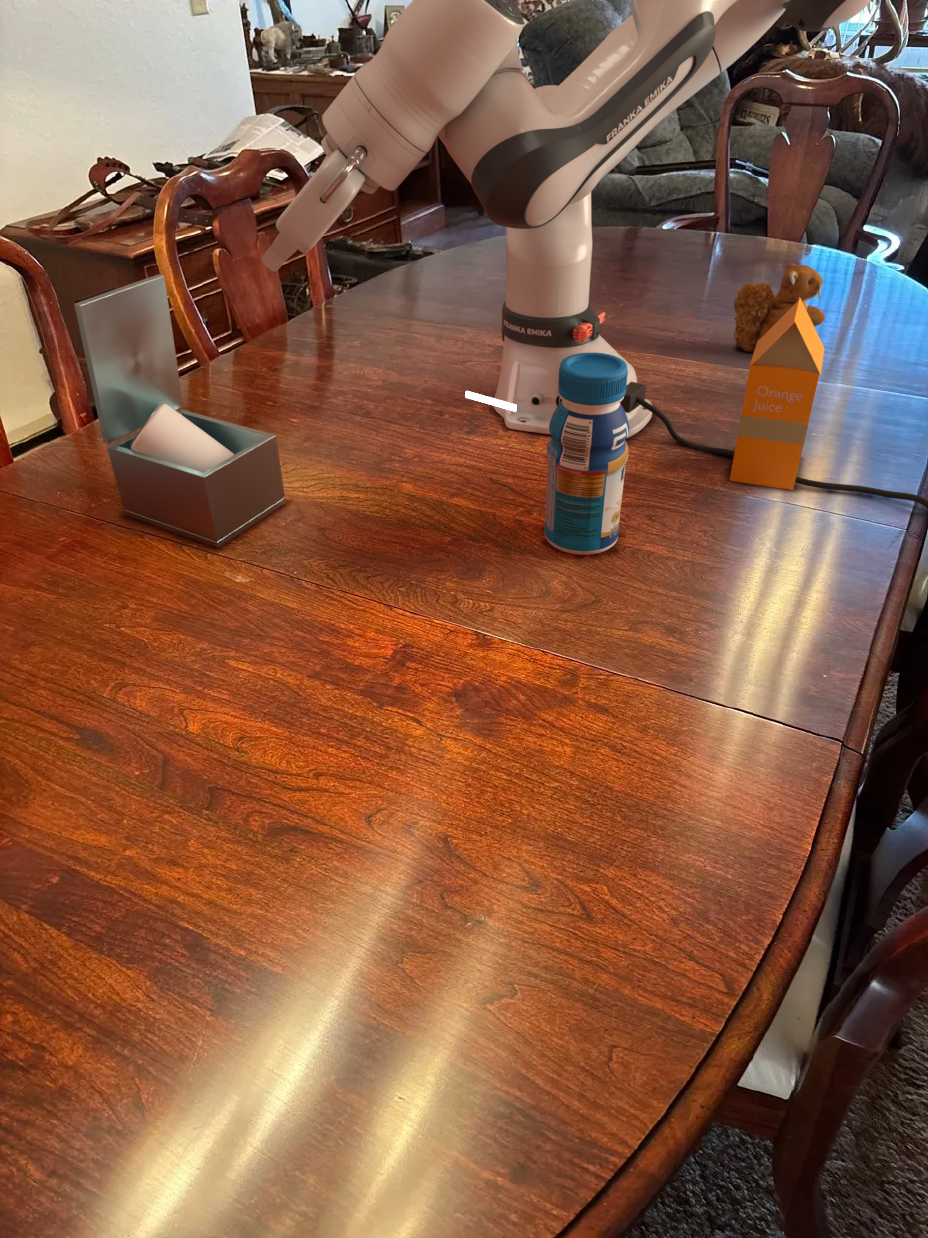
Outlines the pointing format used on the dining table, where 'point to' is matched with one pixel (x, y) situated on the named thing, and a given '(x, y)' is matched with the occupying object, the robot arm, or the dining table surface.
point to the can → (178, 441)
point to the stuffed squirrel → (774, 304)
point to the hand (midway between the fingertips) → (279, 250)
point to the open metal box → (203, 484)
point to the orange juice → (778, 402)
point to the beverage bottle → (587, 454)
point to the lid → (129, 354)
